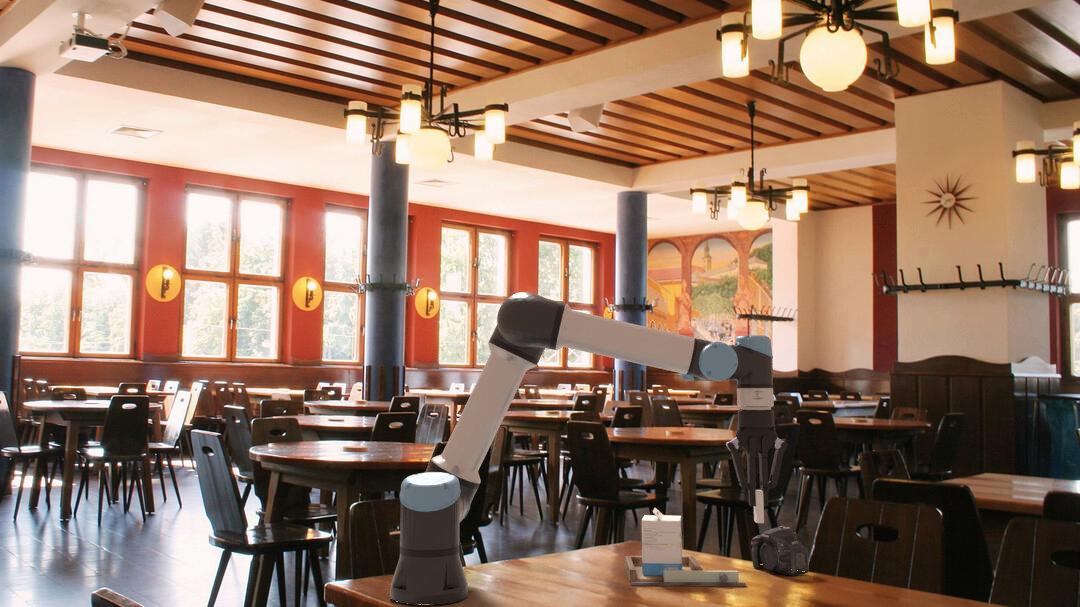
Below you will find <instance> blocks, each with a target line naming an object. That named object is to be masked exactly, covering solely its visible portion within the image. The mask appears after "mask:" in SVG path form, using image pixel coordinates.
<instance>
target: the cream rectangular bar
mask: <svg viewBox="0 0 1080 607" xmlns="http://www.w3.org/2000/svg"><path fill="white" fill-rule="evenodd" d="M739 573H740V572H739V571H738V570H703V571H689V570H664V582H717V583H740V581H739V580H740V579H739V577H740V576H739V575H740V574H739Z"/></svg>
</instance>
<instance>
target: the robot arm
mask: <svg viewBox="0 0 1080 607" xmlns="http://www.w3.org/2000/svg"><path fill="white" fill-rule="evenodd" d="M496 316H497V317H496V323H497V324H496V326H495V328H494V330H493V332H492V334H491V337H490V338H489V340H488V343H487V345H488V348H489V351H490V354H489V356H488V358H487V361H486V363H485V364H484V367H483V369H482V371H481V373H480V375H479V377H478V379H477V381H476V383H475V385H474V387H473V389H472V392H471V393H470V395H469V397H468V400H467V402H466V403H465V405H464V407H463V409H462V412H461V414H460V416H459V418H458V420H457V422H456V424H455V426H454V429H453V431H452V433H451V435H450V437H449V439H448V441H447V443H446V444H445V447H444V449H443V451H442V452H441V454H439V455H436V456H434V457H431V459H430V461H429V463H428V465H427V467H426V470H425V471H424V472H421V473H416V474H412V475H409V476H407V477H406V478H404V479H403V480H402V482H401V485H400V492H399V501H400V502H399V504H400V513H399V515H400V516H399V517H400V518H399V520H400V521H399V528H400V529H399V559H398V562H397V565H396V568H395V571H394V575H393V577H392V579H391V584H390V588H389V591H390V592H389V594H390V595H389V598H390V597H391V598H392V599H393V600H395V601H398V602H402V603H408V604H421V605H420V606H423V605H422V604H442V605H447V603H449V604H453V603H457V602H460V601H464V600H465V599H466V598H467V597H469V596H468V594H469V588H468V587H469V585H468V581H467V577H466V574H465V570H464V567H463V564H462V561H461V557H460V523H461V522H462V521H463V520H464V519H466V517H467V515H468V513H469V511H470V510H471V504H472V501H473V499H474V496H476V495H475V494H476V493H477V490H478V489H479V487H480V484H481V481H482V480H481V478H480V474H479V470H480V467H481V466H482V463H483V461H484V460H485V458H486V455H487V453H488V451H489V449H490V447H491V446H492V443H493V441H494V439H495V437H496V435H497V432H498V430H499V429H500V426H501V424H502V422H503V421H504V418H505V416H506V414H507V412H508V410H509V408H510V406H511V404H512V402H513V400H514V397H515V395H516V393H517V391H518V389H519V387H520V385H521V383H522V381H523V379H524V376H525V375H526V373H527V371H528V370H531V369H534V368H536V367H537V366H538V364H539V362H540V360H541V358H542V356H543V354H544V351H545V350H546V349H549V350H552V351H553V350H554V351H559V350H560V349H562V348H566V349H572V350H575V351H581V352H584V353H589V354H592V355H593V354H594V355H599V356H602V357H606V358H607V357H608V358H611V359H616V360H620V361H625V362H630V363H633V364H638V365H644V366H648V367H653V368H657V369H661V370H665V371H670V372H673V373H674V372H675V373H677V374H678V373H679V375H680V378H681V379H682V380H683V381H686V382H688V381H689V382H690V381H691V382H716V383H720V382H724V381H731V382H733V381H736V398H737V399H736V402H737V407H738V408H739V409H738V411H737V432H735V437H734V438H733V439H731V440H730V441H726V442H725V446H726V448H727V450H728V451H729V452H730V455H731V458H732V462H733V466H734V471H735V473H736V478H737V482H738V485H739V486H740V487H741V488H743V489H746V490H747V491H748V492H747V493H748V505H749V506H750V507H753V521H754V522H755V523H756V524H765V513H764V512H765V511H764V510H765V509H764V507H768V505H769V490H771V489H774V488H776V487H777V486H778V481H779V477H780V472H781V468H782V464H783V463H782V462H783V458H784V453H785V452H786V450H787V448H788V447H789V443H788V442H787V441H784V440H783V439H781V438H779V437H778V434H777V432H776V429H775V428H776V427H775V411H774V410H773V409H772V408H773V407H775V406H774V405H775V403H774V402H775V401H774V382H773V381H774V380H773V378H774V377H773V376H774V373H773V370H774V368H773V359H774V356H773V349H772V348H773V347H772V339H771V338H770V337H769V336H767V335H758V334H757V335H739V336H736V337H735V342H734V344H731V345H729V344H727V343H726V342H722V341H710V340H706V339H701V338H695V337H694V336H693V337H692V336H689V335H688V336H687V335H684V334H679V333H675V332H671V331H667V330H662V329H657V328H653V327H648V326H644V325H639V324H635V323H630V322H626V321H621V320H617V319H612V318H608V317H603V316H600V315H595V314H590V313H587V312H581V311H576V310H572V308H571V307H570V305H569V304H568V303H564V302H560V301H556V300H553V299H550V298H546V297H545V296H542V295H539V294H537V293H534V292H528V291H522V292H520V291H519V292H517V293H514V294H512V295H510V296H508V297H507V298H506V299H505V300H504V301H503V302H502V304H501V305H500V307H499V309H498V311H497V315H496ZM774 443H775V444H774ZM739 445H740V446H741V447H742V448H743V450H744V451H745V453H746V467H747V468H746V469H747V473H746V474H747V479H746V475H745V472H744V468H743V464H742V461H741V456H740V453H739V450H738V449H739V448H740V446H739ZM773 445H774V448H775V452H774V455H773V460H772V463H771V464H772V465H771V470H770V473H769V467H768V464H769V463H768V458H769V455H768V454H769V451H770V450H771V448H772V446H773ZM756 454H758V460H759V461H758V462H759V464H758V465H759V488H760V489H757V479H756V477H757V476H756V474H757V473H756ZM769 474H770V475H769ZM391 598H390V599H391ZM393 600H392V601H393ZM395 601H394V602H395ZM398 602H397V603H398ZM402 603H401V604H402ZM408 604H407V605H408Z"/></svg>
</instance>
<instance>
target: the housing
mask: <svg viewBox="0 0 1080 607" xmlns="http://www.w3.org/2000/svg"><path fill="white" fill-rule="evenodd" d="M624 569H625V572H626V574H627V578H628V581H629V583H630V586H632V587H633V586H637V587H638V586H639V587H641V586H644V587H645V586H647V587H648V586H650V587H651V586H652V587H653V586H654V587H657V586H660V587H667V586H668V587H670V586H671V587H672V586H673V587H674V586H676V587H746V586H747V583H746V582H739V583H717V582H664V576H651V575H643V573H642V555H624ZM682 570H689V571H704V569H703V568H702V566H701V565H700V563H699V562H698V561H697V560H696V558H695V557H694V556H692V555H691V556H690V555H689V556H688V555H686V556H685V555H682Z"/></svg>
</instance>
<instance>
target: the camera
mask: <svg viewBox="0 0 1080 607" xmlns="http://www.w3.org/2000/svg"><path fill="white" fill-rule="evenodd" d="M750 545H751V546H752V548H751V557H752V558H751V559H752V567H753V569H755V570H768V571H771V572H776V573H778V574H782V575H785V576H787V575H788V576H797V575H804V574H808V573H809V572H810V567H809V565H810V564H809V553H808V552H809V551H808V548H807V547H806V546H804V545H803V544H802V542H801V541H800V540H799V534H798V533H796V532H793V531H792V529H791V527H790V526H787V527H786V526H784V525H781V526H780V525H779V526H777V527H774V528H771V529H768V530H765V531H763V532H762V533H761V534H757V535H756V536H754V537H753V538H751V541H750ZM760 564H763V565H760ZM791 569H792V570H791ZM797 570H798V571H797ZM802 571H805V572H802Z"/></svg>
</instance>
